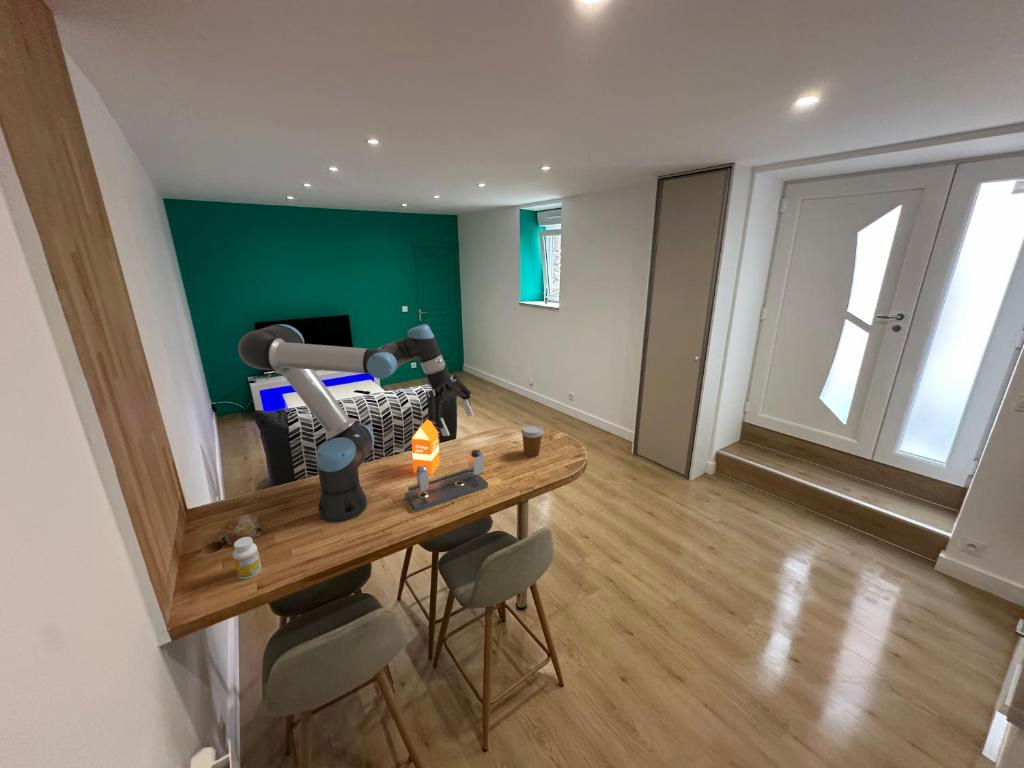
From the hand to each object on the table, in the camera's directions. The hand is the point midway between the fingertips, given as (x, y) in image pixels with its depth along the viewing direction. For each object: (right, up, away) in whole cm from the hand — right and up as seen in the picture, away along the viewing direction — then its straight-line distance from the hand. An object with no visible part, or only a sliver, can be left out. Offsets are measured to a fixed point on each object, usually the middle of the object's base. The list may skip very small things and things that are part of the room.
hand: (459, 425), depth 139 cm
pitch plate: (-5, -25, +4) cm, 26 cm away
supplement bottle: (-52, -36, -33) cm, 71 cm away
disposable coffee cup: (+27, -16, +33) cm, 46 cm away
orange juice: (-16, -20, +21) cm, 33 cm away
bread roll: (-63, -32, -19) cm, 73 cm away
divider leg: (+5, -20, +10) cm, 23 cm away
